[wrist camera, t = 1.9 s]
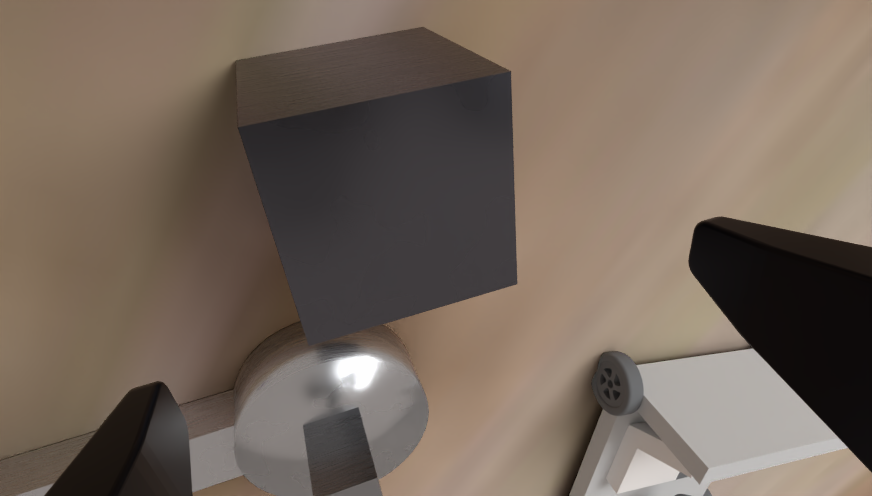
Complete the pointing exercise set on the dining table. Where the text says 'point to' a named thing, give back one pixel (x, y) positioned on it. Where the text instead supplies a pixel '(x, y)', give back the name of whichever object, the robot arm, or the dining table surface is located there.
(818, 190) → the dining table surface
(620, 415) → the toy car
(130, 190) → the dining table surface
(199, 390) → the dining table surface
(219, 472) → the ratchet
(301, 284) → the dark grey block
